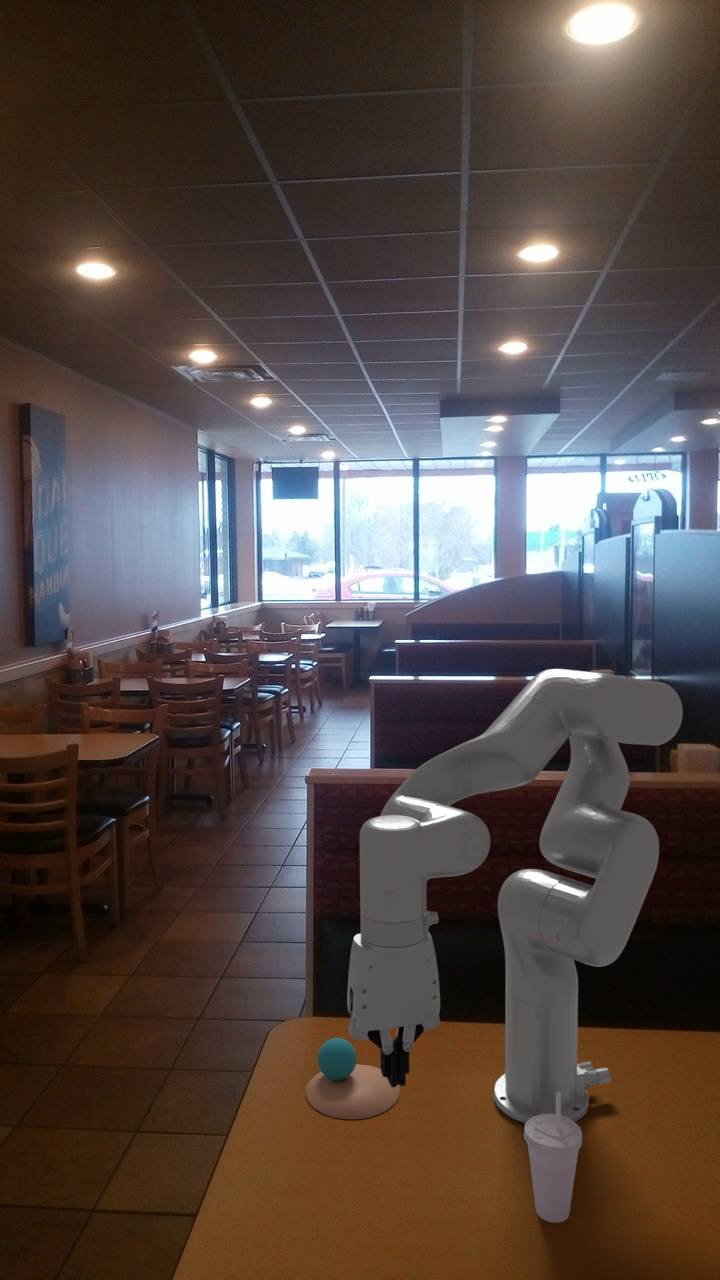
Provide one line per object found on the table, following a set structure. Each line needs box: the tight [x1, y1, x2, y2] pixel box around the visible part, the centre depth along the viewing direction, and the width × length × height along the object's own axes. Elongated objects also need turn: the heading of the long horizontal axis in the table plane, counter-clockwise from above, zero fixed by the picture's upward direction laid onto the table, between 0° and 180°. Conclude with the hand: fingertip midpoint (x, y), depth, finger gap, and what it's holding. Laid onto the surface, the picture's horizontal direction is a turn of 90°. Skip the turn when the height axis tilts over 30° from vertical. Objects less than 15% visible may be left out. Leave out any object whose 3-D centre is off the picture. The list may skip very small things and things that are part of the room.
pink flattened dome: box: [305, 1063, 401, 1120], centre depth 130 cm, size 13×13×1 cm
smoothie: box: [523, 1092, 583, 1224], centre depth 105 cm, size 6×6×14 cm
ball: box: [317, 1037, 358, 1080], centre depth 133 cm, size 6×6×6 cm
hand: (395, 1079), depth 108 cm, fingers closed
